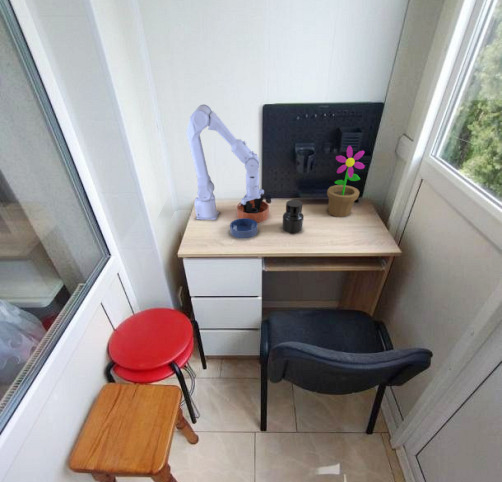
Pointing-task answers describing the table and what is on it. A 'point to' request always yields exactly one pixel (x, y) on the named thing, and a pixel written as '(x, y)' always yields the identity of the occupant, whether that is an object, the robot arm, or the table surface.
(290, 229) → the ink bottle
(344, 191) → the flowerpot
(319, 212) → the table surface
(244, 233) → the blue round dish
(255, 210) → the ring
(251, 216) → the bowl
